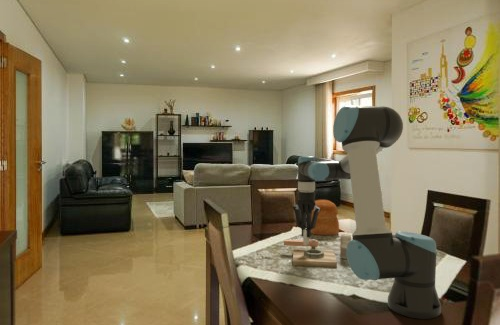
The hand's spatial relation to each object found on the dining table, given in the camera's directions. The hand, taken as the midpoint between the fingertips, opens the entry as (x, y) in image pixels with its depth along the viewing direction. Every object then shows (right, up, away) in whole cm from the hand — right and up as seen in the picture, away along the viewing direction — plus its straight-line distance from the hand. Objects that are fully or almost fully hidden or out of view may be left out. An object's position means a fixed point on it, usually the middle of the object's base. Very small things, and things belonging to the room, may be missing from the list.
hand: (306, 244), depth 169 cm
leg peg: (+18, -6, 0) cm, 19 cm away
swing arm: (-2, -2, +6) cm, 6 cm away
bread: (+18, -4, +53) cm, 56 cm away
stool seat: (+3, -6, -3) cm, 7 cm away
